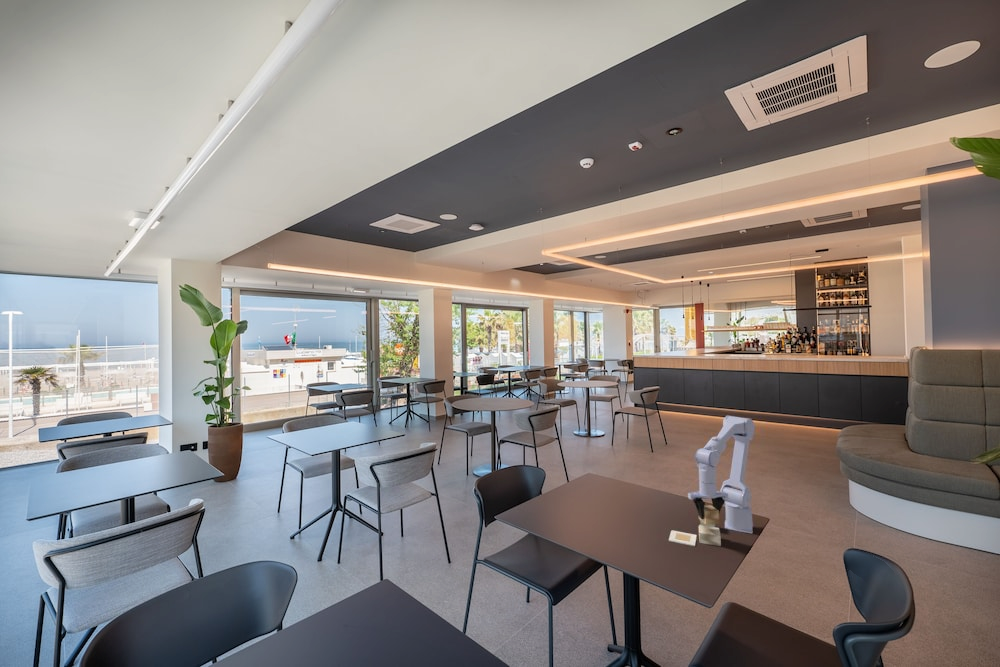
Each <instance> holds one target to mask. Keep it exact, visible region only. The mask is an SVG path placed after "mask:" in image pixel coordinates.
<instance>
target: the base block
mask: <svg viewBox="0 0 1000 667" xmlns="http://www.w3.org/2000/svg"><path fill="white" fill-rule="evenodd" d="M721 537H722V536H721V530H720V528H719V527H716V526H715V527H709V526H703V525H700V524H699V525H698V538H699V539H698V540H699V543H700V544H704V545H710V546H715V547H716V546H717V547H721V546H722V541H721V540H722V538H721Z"/></svg>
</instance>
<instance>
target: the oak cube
mask: <svg viewBox="0 0 1000 667" xmlns="http://www.w3.org/2000/svg"><path fill="white" fill-rule="evenodd" d="M698 520H699V521H700V520H701V521H702V522H703V523H704V524H706V525H712V524H715V525H720V513H719V511H718V510H717V509H716V508H714V507H713V505H710V504H708V505H705V506H704V519H701V518H700V517H699V516H698Z"/></svg>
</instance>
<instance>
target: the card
mask: <svg viewBox="0 0 1000 667" xmlns="http://www.w3.org/2000/svg"><path fill="white" fill-rule="evenodd" d="M668 542H673V543H676V544H681V545H687V546H692V547H696V542H697V534H693V533H690V532H689V533H687V532H683V531H678V530H671V531H670V534H669V538H668Z"/></svg>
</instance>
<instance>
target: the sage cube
mask: <svg viewBox="0 0 1000 667" xmlns="http://www.w3.org/2000/svg"><path fill="white" fill-rule="evenodd" d="M699 523H700V524H699V525H703V526H709V527H716V524H712V525H706V524H704V523H703V522H702V521H701V520H699Z"/></svg>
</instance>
